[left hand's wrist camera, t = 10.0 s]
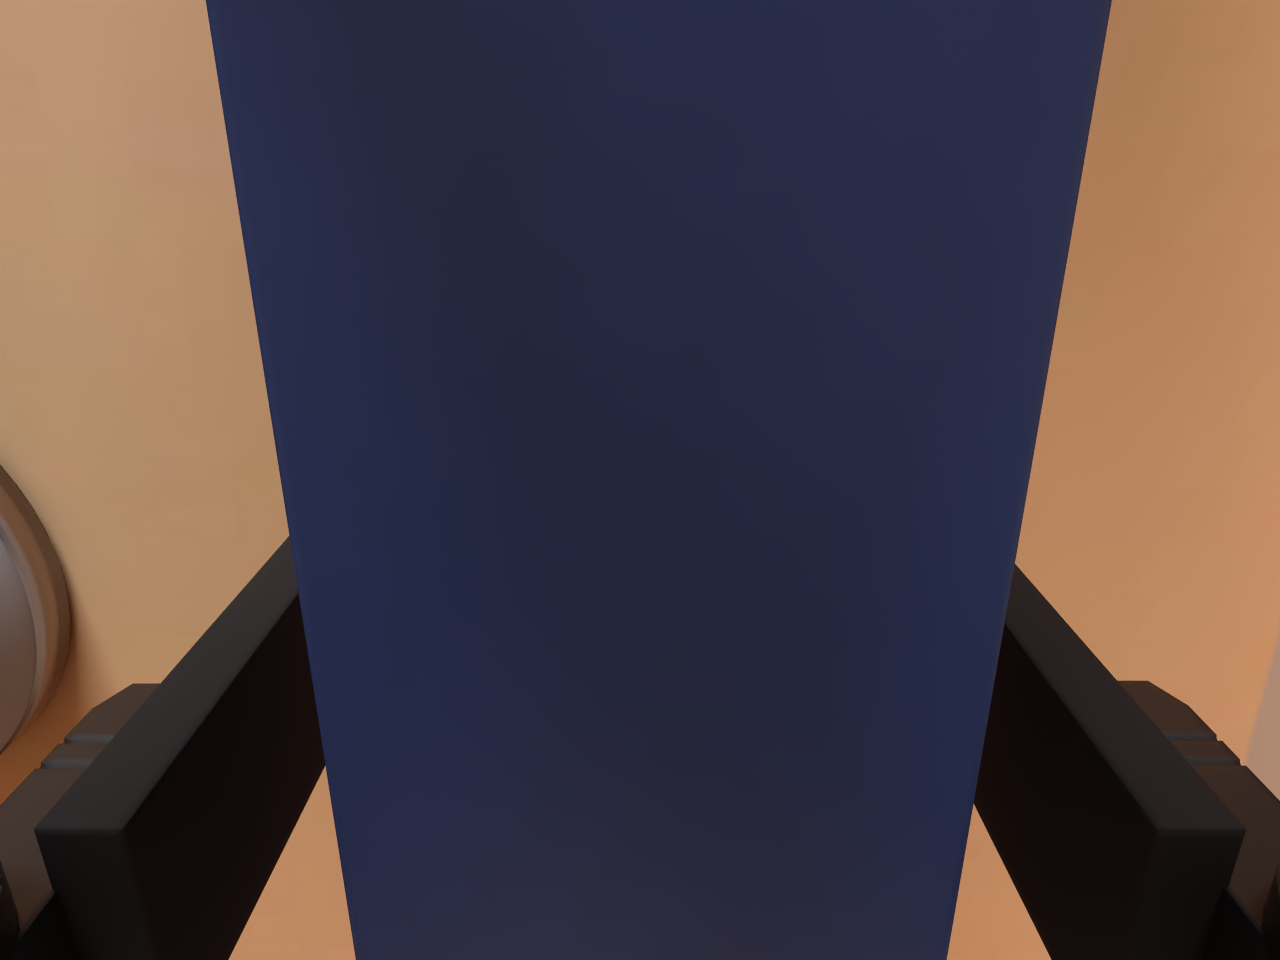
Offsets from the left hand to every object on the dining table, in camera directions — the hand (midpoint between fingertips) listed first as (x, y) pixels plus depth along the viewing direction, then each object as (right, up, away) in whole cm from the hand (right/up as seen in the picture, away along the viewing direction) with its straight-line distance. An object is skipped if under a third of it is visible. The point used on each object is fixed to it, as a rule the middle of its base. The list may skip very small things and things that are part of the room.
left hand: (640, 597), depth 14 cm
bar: (0, +8, -1) cm, 8 cm away
